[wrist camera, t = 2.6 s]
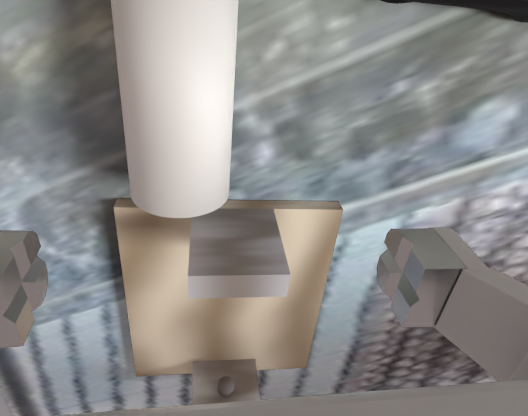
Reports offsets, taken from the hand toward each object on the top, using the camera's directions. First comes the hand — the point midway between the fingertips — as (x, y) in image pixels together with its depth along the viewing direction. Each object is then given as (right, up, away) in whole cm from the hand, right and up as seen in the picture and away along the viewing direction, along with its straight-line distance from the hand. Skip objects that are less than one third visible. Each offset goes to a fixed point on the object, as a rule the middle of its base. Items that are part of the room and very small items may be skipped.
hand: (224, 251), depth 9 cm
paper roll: (-1, +7, +11) cm, 13 cm away
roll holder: (-2, -5, +20) cm, 21 cm away
